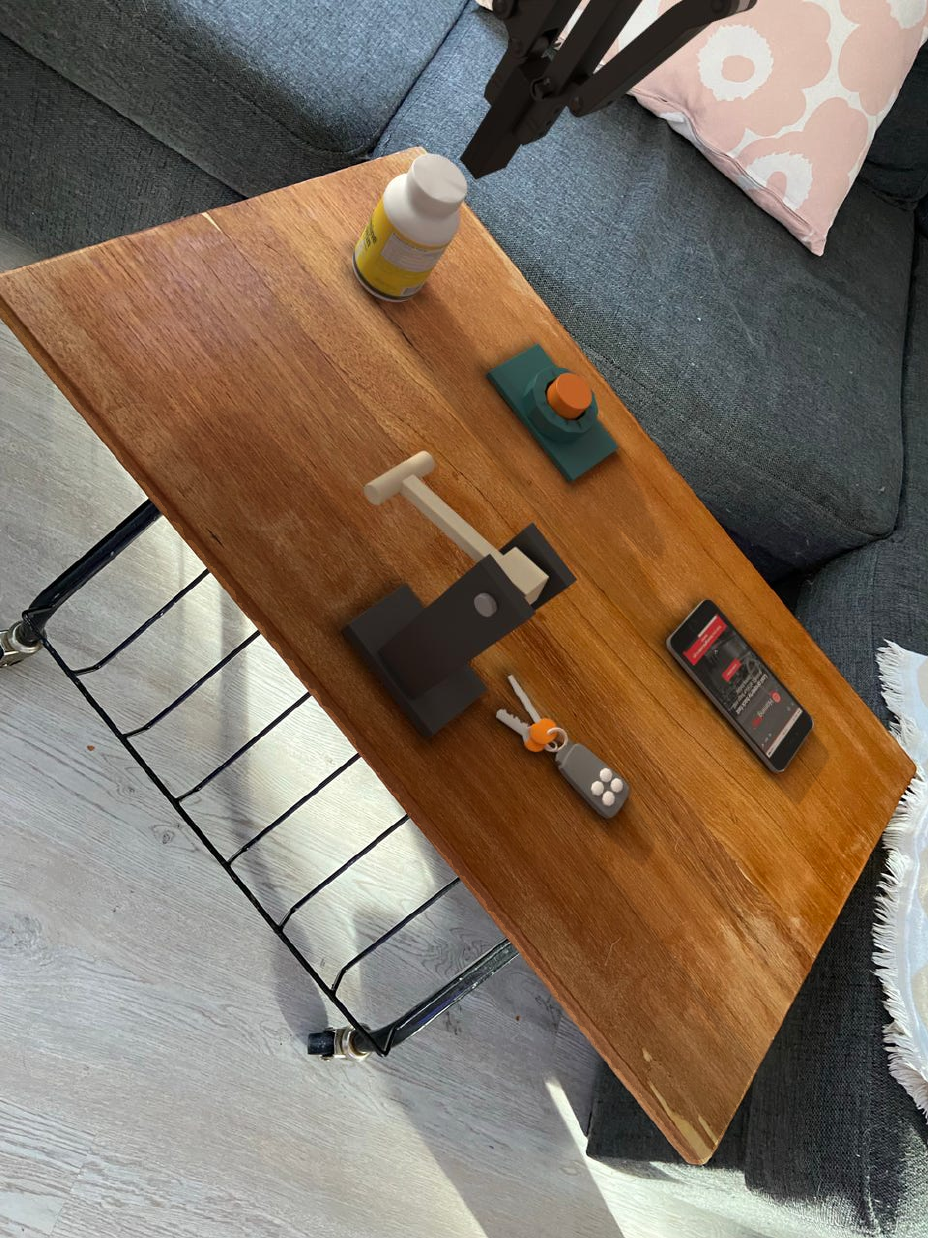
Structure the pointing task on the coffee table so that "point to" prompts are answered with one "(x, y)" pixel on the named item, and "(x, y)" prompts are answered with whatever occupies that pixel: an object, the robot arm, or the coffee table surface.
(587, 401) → the button
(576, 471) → the teal button base
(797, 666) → the coffee table surface
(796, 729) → the smartphone
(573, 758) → the key chain
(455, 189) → the pill bottle
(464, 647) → the lever switch stand
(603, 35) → the robot arm
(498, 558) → the switch lever
